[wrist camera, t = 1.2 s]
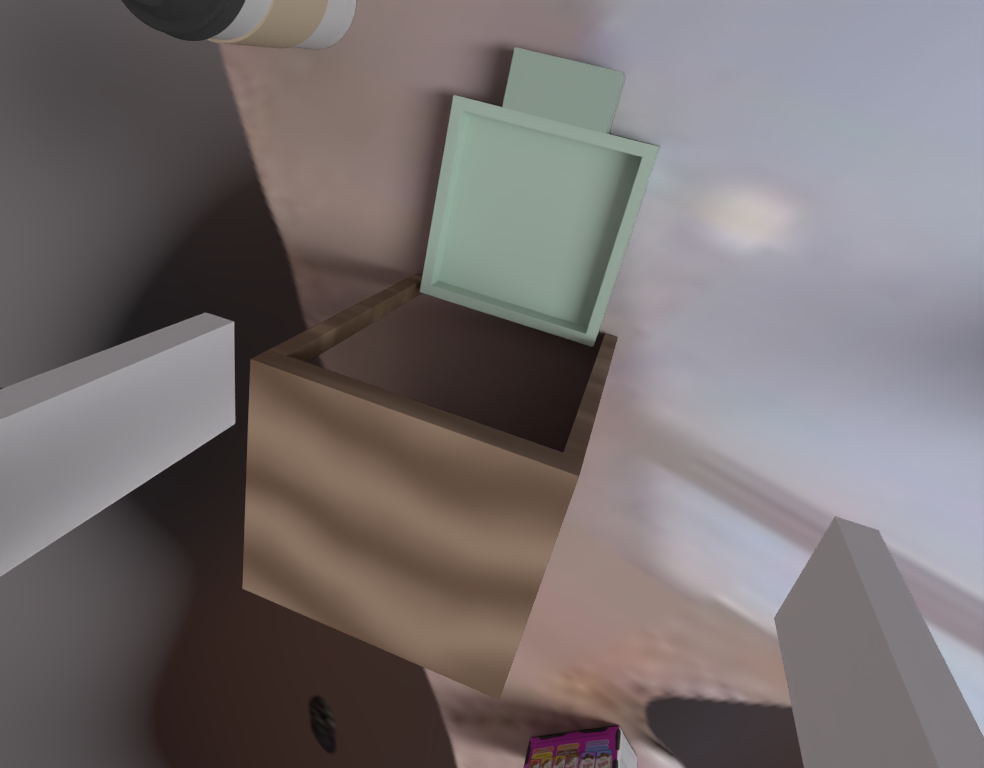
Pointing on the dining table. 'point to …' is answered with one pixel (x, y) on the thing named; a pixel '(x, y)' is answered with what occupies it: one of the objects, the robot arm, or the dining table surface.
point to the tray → (537, 199)
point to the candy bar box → (582, 750)
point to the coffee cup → (250, 21)
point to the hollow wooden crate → (400, 507)
